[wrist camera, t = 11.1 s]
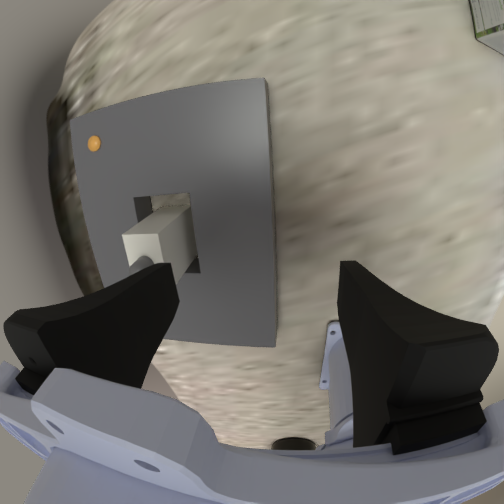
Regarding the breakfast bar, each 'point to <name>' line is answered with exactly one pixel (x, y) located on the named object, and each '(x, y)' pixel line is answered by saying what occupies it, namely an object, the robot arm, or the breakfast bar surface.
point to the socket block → (201, 197)
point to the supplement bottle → (293, 444)
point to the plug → (162, 240)
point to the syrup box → (489, 22)
